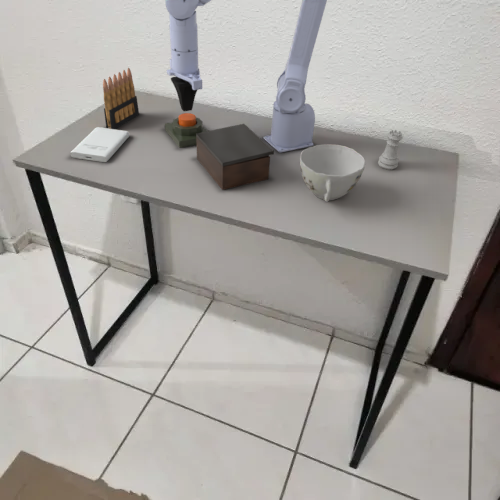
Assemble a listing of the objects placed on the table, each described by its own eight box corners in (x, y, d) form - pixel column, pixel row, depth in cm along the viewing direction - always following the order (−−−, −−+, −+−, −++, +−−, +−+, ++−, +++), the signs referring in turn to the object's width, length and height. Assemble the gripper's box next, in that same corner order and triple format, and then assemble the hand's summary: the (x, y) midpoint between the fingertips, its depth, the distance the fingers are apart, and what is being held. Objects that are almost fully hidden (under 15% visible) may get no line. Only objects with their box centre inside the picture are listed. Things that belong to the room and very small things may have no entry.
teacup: (299, 173, 101) (304, 139, 96) (358, 181, 99) (366, 147, 94) (290, 212, 90) (294, 175, 84) (356, 222, 88) (364, 185, 83)
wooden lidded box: (239, 150, 108) (240, 129, 104) (268, 179, 98) (270, 156, 95) (196, 159, 104) (196, 137, 100) (222, 190, 94) (222, 166, 91)
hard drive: (129, 137, 110) (106, 163, 100) (96, 133, 111) (71, 157, 101) (128, 131, 109) (105, 156, 99) (95, 126, 110) (69, 150, 100)
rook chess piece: (399, 163, 106) (408, 130, 101) (395, 172, 103) (404, 138, 98) (379, 158, 108) (387, 126, 102) (375, 167, 104) (383, 134, 99)
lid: (243, 126, 104) (244, 123, 104) (273, 154, 95) (274, 150, 95) (196, 136, 100) (196, 133, 100) (222, 166, 91) (222, 163, 90)
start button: (176, 121, 110) (176, 114, 109) (192, 118, 112) (192, 111, 111) (182, 128, 108) (182, 121, 107) (198, 125, 109) (198, 118, 108)
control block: (165, 130, 114) (163, 116, 112) (195, 124, 117) (195, 111, 115) (179, 148, 107) (178, 134, 105) (211, 142, 110) (211, 128, 108)
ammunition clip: (133, 113, 120) (127, 65, 112) (139, 115, 120) (134, 67, 112) (106, 129, 113) (98, 79, 105) (112, 131, 112) (104, 81, 104)
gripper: (155, 39, 102) (159, 100, 111) (178, 60, 93) (181, 125, 101) (185, 37, 105) (187, 96, 114) (211, 57, 95) (211, 120, 104)
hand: (186, 109), depth 108 cm, fingers closed
